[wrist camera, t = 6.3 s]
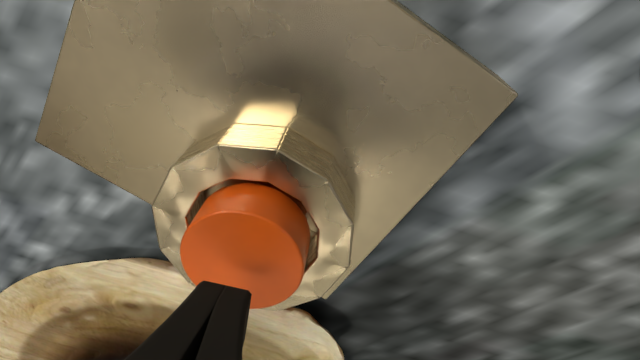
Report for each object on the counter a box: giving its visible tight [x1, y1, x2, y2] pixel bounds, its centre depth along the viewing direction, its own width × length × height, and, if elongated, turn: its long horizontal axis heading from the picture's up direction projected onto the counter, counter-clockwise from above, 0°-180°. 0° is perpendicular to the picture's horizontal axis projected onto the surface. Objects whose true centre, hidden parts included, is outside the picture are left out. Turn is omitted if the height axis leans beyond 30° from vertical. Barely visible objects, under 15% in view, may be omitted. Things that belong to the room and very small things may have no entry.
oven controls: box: [35, 0, 518, 311], centre depth 14 cm, size 13×12×4 cm
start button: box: [180, 183, 310, 309], centre depth 14 cm, size 4×4×2 cm
